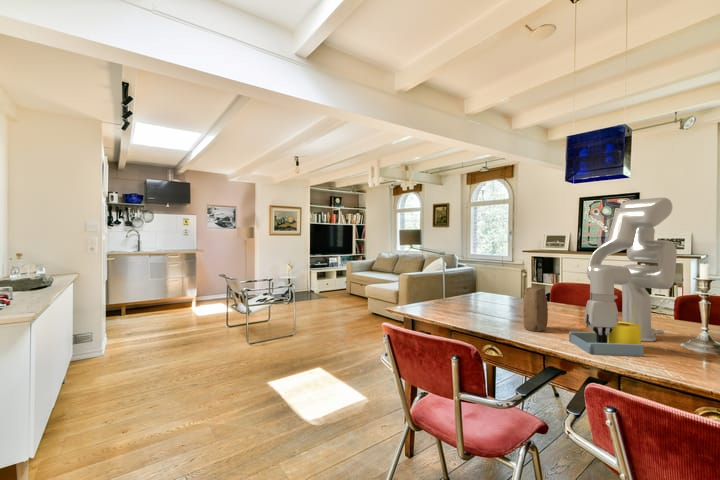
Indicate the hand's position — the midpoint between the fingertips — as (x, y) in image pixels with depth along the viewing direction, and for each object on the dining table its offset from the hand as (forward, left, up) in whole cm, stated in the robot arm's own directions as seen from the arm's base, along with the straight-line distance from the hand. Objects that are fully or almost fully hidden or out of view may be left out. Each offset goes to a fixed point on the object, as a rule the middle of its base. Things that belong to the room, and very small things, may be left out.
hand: (601, 344), depth 126 cm
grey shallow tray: (-1, 0, -2) cm, 2 cm away
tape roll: (-8, 0, -2) cm, 8 cm away
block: (+15, -24, -2) cm, 29 cm away
